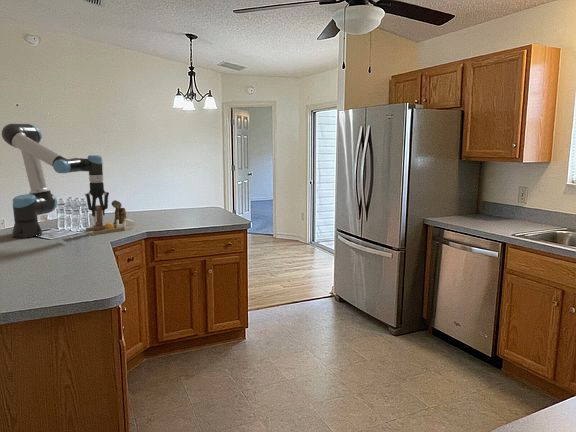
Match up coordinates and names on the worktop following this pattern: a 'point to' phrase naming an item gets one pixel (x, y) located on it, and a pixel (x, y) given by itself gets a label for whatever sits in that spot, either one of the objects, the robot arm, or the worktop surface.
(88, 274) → the worktop surface
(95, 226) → the brown tall block
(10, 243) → the worktop surface
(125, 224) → the brown wooden tray
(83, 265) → the worktop surface
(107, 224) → the ball
